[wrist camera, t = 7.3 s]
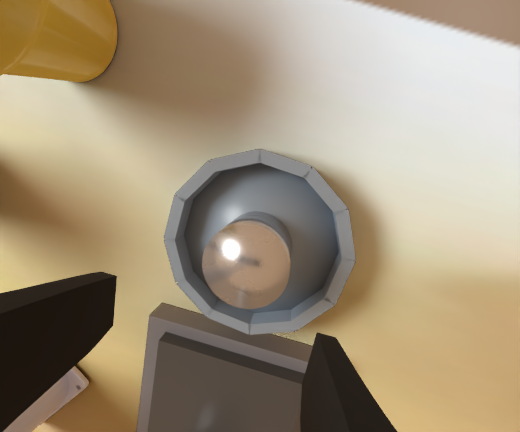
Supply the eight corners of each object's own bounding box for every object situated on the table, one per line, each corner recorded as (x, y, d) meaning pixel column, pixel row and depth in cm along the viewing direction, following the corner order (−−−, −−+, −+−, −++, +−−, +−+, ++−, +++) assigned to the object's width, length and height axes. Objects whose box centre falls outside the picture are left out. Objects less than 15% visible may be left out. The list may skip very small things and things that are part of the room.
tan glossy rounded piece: (255, 291, 19) (242, 324, 15) (209, 241, 18) (185, 261, 14) (307, 250, 17) (308, 275, 13) (259, 196, 17) (246, 205, 13)
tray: (253, 342, 20) (247, 363, 18) (150, 227, 20) (132, 235, 18) (384, 252, 17) (396, 265, 15) (267, 114, 17) (262, 106, 15)
